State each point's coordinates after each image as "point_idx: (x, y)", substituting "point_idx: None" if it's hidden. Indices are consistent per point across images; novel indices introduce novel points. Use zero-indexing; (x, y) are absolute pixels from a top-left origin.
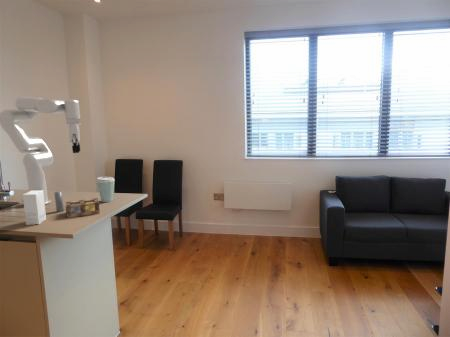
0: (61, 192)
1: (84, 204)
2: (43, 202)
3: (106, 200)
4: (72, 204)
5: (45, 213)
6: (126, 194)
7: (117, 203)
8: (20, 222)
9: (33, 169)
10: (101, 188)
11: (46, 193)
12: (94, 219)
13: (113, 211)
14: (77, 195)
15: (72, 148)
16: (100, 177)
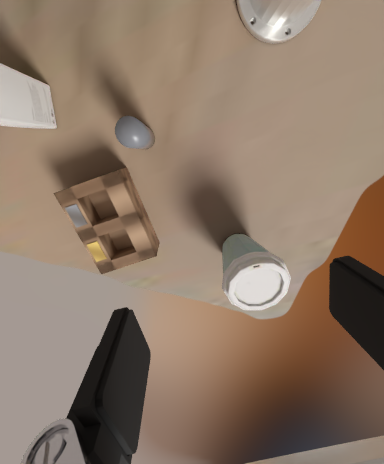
0: (131, 147)
1: (82, 241)
2: (2, 122)
3: (222, 250)
4: (77, 207)
5: (42, 126)
6: (297, 279)
7: (201, 277)
8: (22, 43)
9: None
10: (226, 260)
11: (293, 4)
12: (61, 259)
13: (125, 284)
14: (358, 122)
15: (93, 360)
16: (274, 270)
